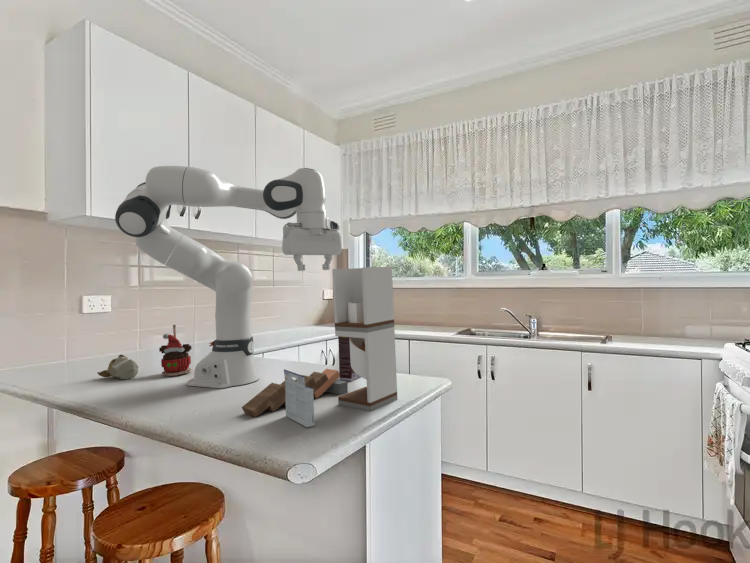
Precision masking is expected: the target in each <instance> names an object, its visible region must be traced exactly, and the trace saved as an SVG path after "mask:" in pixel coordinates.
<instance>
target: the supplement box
mask: <svg viewBox="0 0 750 563" xmlns="http://www.w3.org/2000/svg"><path fill="white" fill-rule="evenodd" d="M337 338H338V339H337V340H338V342H337V343H338V368H339V369H338V372H339V374H340V377H339V380H340V381H345V382H353V381H355V380H358V379H360V378H362V377H361V376H359V375H358V374H356V373H355V372H354V371H353V369H352V368H351V363H350V341H349V337H341V336H337Z"/></svg>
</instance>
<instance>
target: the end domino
mask: <svg viewBox="0 0 750 563" xmlns="http://www.w3.org/2000/svg"><path fill="white" fill-rule="evenodd" d="M321 373H325V374H326V375H327V378H328V380H327V381H326V382H325V383H324V384H323V385H322V386H321V387H320V388H319V389H318V390H317V391H316V392H315V393H314V394H313V396H314V399H316V400H317V399H318V398H320V397H321V396H322V395H323V394H324V393H325V391H326V390H327V389H328V388H329V387H330V386H331V385H332V384H333V383H334V382H335V381H336V380H339V379H340V374H339V370H336V369H331V368H325V369H324V370H323V371H322V372H321Z"/></svg>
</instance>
